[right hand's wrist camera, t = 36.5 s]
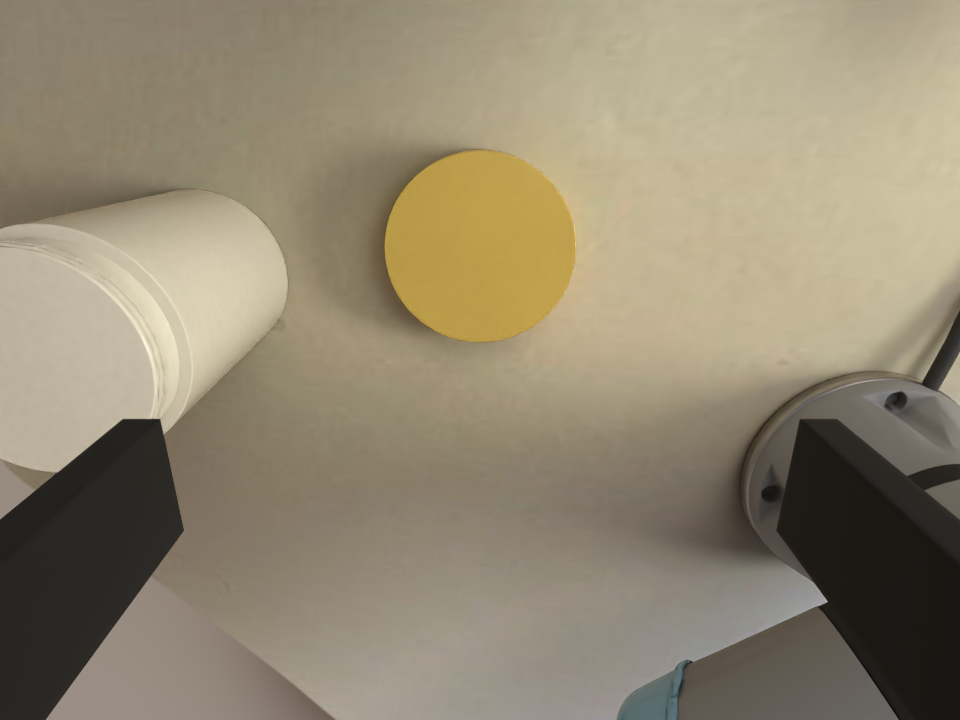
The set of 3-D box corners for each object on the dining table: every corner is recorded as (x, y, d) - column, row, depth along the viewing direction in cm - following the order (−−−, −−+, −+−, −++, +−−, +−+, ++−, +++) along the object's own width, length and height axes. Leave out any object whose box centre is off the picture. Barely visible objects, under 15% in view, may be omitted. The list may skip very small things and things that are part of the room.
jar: (287, 360, 40) (175, 497, 25) (127, 341, 39) (-81, 469, 25) (290, 201, 36) (161, 252, 21) (113, 177, 35) (-141, 214, 21)
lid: (592, 173, 35) (599, 176, 33) (544, 346, 39) (548, 359, 37) (406, 129, 35) (402, 129, 32) (376, 310, 38) (370, 321, 36)
